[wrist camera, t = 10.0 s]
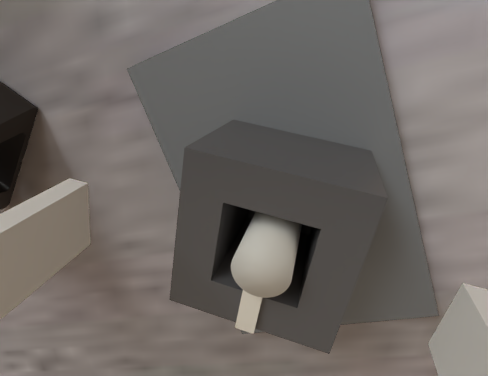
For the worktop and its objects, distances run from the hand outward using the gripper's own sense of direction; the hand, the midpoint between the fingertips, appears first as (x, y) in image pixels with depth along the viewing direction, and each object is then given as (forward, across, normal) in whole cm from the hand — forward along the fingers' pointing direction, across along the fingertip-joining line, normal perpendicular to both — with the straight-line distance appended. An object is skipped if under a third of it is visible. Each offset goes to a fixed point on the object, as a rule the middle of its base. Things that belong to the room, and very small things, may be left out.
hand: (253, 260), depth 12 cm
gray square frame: (+7, 0, 0) cm, 7 cm away
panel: (+8, 0, 0) cm, 8 cm away
